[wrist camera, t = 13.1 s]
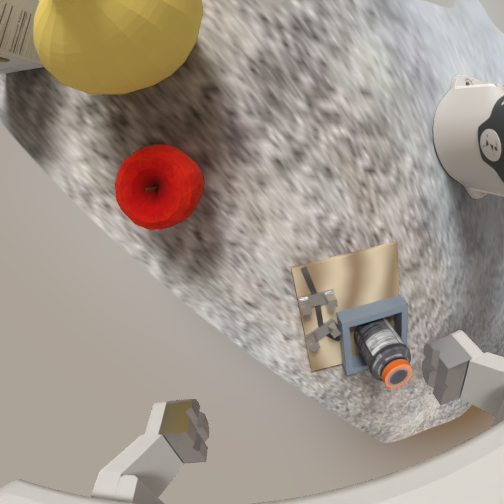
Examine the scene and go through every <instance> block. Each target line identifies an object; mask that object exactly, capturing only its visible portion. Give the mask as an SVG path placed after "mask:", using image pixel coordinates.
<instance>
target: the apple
mask: <svg viewBox="0 0 504 504" xmlns="http://www.w3.org/2000/svg"><path fill="white" fill-rule="evenodd" d="M115 188H116V200H117V202H118V204H119V206H120V208H121V210H122V211H123V212H124V213H125V214H126V215H127V216H128V217H129V218H130V219H131V220H132V221H133V222H134V223H135V224H137V225H139V226H141V227H144V228H146V229H153V230H156V229H164V228H168V227H171V226H173V225H176V224H178V223H180V222H182V221H183V220H185V219H186V218H187V217H189V216H190V215H191V213H192V212H193V211H194V209H195V208H196V206H197V205H198V203H199V201H200V199H201V196H202V193H203V190H204V178H203V174H202V171H201V169H200V168H199V166H198V164H197V163H196V162H195V161H194V160H193V159H191V158H190V157H189V156H188V155H187V154H186V153H184V152H183V151H182V150H180V149H178V148H176V147H175V146H173V145H167V144H157V145H149V146H145V147H142V148H140V149H139V150H137V151H136V152H134V153H133V154H132V155H130V156H129V157H128V158H127V159H125V160H124V162H123V163H122V165H121V167H120V168H119V171H118V175H117V179H116V182H115Z"/></svg>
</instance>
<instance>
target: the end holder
mask: <svg viewBox="0 0 504 504" xmlns="http://www.w3.org/2000/svg"><path fill="white" fill-rule="evenodd" d="M336 314H337V322H338V326H339V329H340V332H341V334H340V335H339V337H340V348H341V357H342V364H343V367H344V370H345V372H346V375H351V374H355V373H358V372H362V371H365V370H368V369H369V368H368V366H367V364H366V362H365V360H364V358H363V356H362V354H358V355H355V356H352V352H351V340H350V329H349V327H353V326H356V325H360V324H364V323H367V322H371V321H374V320H377V319H381V318H384V317H387V316H391V315H394V329H395V331H396V332H397V333H398V335H399V336H400V338H401V339H402V340H403V342H404V343H405V344H406V346H407V332H408V304H407V302H406V301H405V300H404V299H403V298H402V297H401V296H400V295H396V296H393V297H390V298H386V299H383V300H379V301H376V302H372V303H369V304H365V305H362V306H358V307H354V308H351V309H347V310H343V311H339V312H336Z"/></svg>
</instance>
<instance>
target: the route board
mask: <svg viewBox="0 0 504 504" xmlns="http://www.w3.org/2000/svg"><path fill="white" fill-rule="evenodd" d="M291 270H292V274H293V279H294V284H295V289H296V294H297V299H298V304H299V309H300V314H301V319H302V324H303V329H304V334H305V335H307V334H308V333H310V332H311V331H313V330H314V329H316V328H317V327H320V326H321V325H323V323H325V322H326V321H328V320H329V319H330V318H333V319H334V320H335V322H336V323H337V324H338V322H337V314H336V312H339V311H343V310H347V309H351V308H354V307H358V306H362V305H365V304H369V303H372V302H376V301H379V300H383V299H386V298H390V297H393V296H396V295H400V294H399V267H398V250H397V244H396V243H395V242H391V243H387V244H383V245H380V246H376V247H372V248H368V249H364V250H360V251H356V252H352V253H347V254H343V255H339V256H335V257H331V258H327V259H323V260H319V261H315V262H310V263H306V264H302V265H298V266H294V267H291ZM329 289H333V293H334V295H335V297H336V298H337V304H338V307H336V308H332V309H329V308H328V305H327V303H326V304H322V305H318V306H314V307H311V309H312V314H308V315H304V316H303V313H302V310H301V308H300V303H299V298H298V297H300V296H305V295H309V294H315V293H317V292H321V291H325V290H329ZM385 318H386V319H387V320H388V321H389V322H390V324H391V325H392V327H393V328H394V315H391V316H387V317H385ZM357 326H358V325H356V326H353V327H349V329H350V340H351V352H352V356H355V355H358V354H361V352H360V350H359V348H358V346H357V344H356V342H355V339H354V332H355V329H356V327H357ZM305 340H306V345H307V350H308V356H309V361H310V366H311V371H315V370H319V369H323V368H327V367H331V366H335V365H339V364H342V357H341V348H340V337H339V336H337V337H336V338H334V337H333V336H332V335H331V334H330V333H329V334H327V335H326V336H324V337H323V338H321V339H320V340H318V341H319V344H320V348H319V349H317V350H316V351H314V352H313V351H312V350H311V349H310V348H309V345H308V342H307V339H306V338H305Z"/></svg>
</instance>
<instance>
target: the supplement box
mask: <svg viewBox="0 0 504 504" xmlns="http://www.w3.org/2000/svg"><path fill="white" fill-rule="evenodd" d="M38 4H39V0H0V73H4V74H7V73H12V72H17V71H23V70H29V69H35V68H42V67H44V66H43V65H42V63H41V61H40V58H39V56H38V53H37V50H36V48H35V45H34V40H33V27H34V16H35V13H36V10H37V7H38Z"/></svg>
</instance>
